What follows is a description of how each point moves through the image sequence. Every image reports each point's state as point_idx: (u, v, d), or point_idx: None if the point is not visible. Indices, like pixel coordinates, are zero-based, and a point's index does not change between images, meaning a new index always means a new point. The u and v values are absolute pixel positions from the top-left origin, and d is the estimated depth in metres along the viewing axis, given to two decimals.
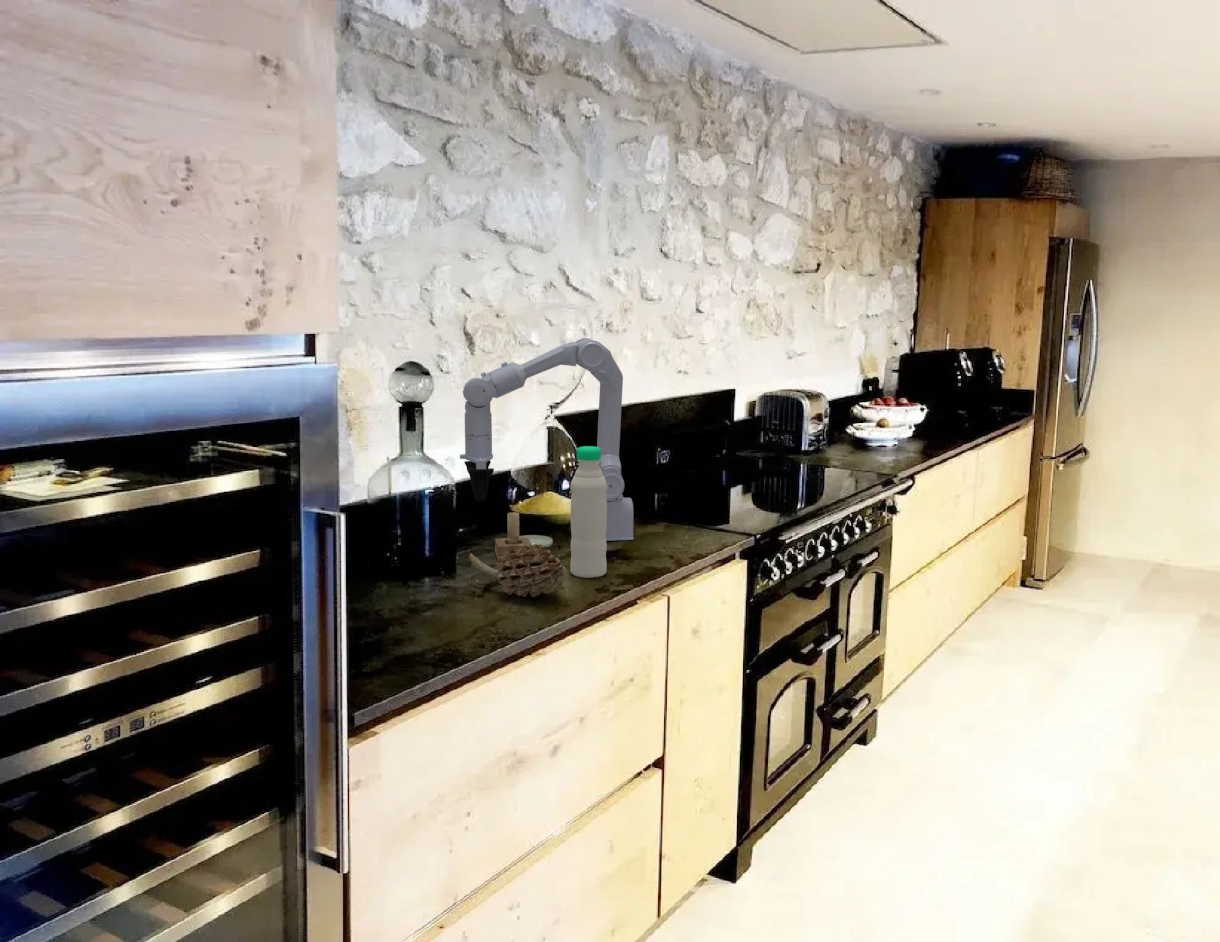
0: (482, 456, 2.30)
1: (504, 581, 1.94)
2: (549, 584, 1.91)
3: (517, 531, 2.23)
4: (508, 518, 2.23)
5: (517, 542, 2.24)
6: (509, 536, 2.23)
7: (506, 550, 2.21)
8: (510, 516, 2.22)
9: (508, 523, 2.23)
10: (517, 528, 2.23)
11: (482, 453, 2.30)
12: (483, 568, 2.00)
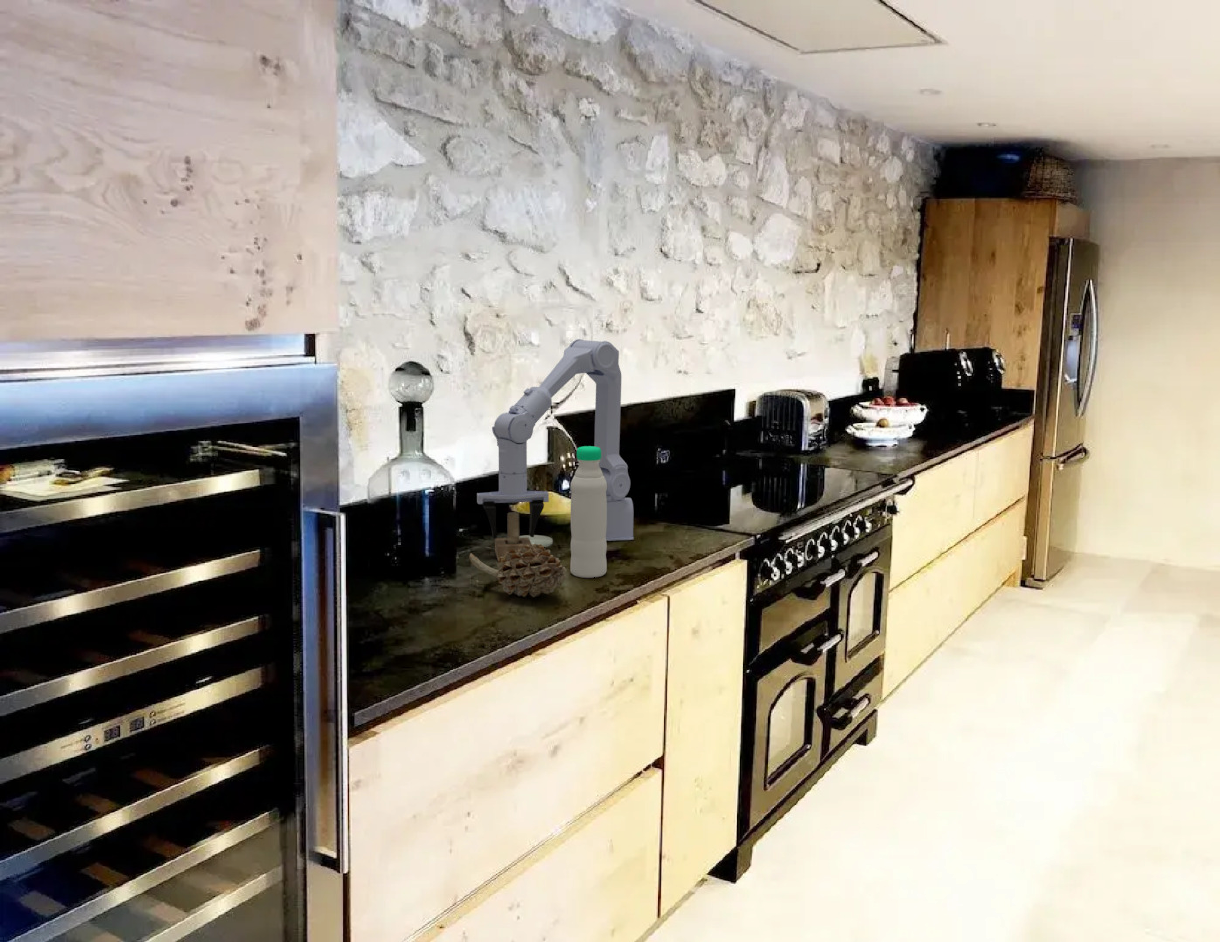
0: (499, 493, 2.22)
1: (504, 581, 1.94)
2: (549, 584, 1.91)
3: (517, 531, 2.23)
4: (508, 518, 2.23)
5: (517, 542, 2.24)
6: (509, 536, 2.23)
7: (506, 550, 2.21)
8: (510, 516, 2.22)
9: (508, 523, 2.23)
10: (517, 528, 2.23)
11: (499, 491, 2.21)
12: (483, 568, 2.00)
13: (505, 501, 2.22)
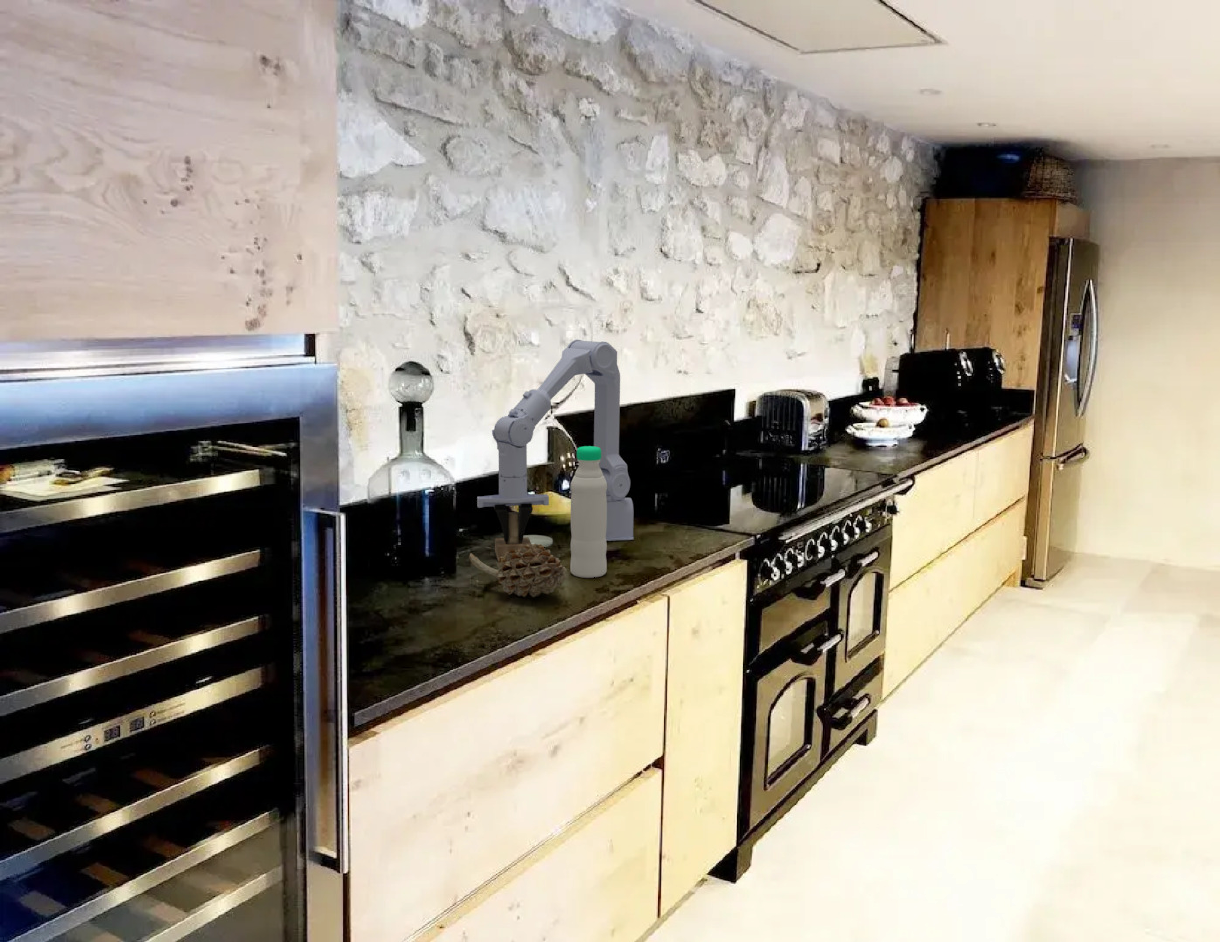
0: (499, 497, 2.22)
1: (504, 581, 1.94)
2: (549, 584, 1.91)
3: (517, 531, 2.23)
4: (508, 518, 2.23)
5: (517, 542, 2.24)
6: (509, 536, 2.23)
7: (506, 550, 2.21)
8: (510, 516, 2.22)
9: (508, 523, 2.23)
10: (517, 528, 2.23)
11: (499, 494, 2.22)
12: (483, 568, 2.00)
13: (505, 504, 2.23)
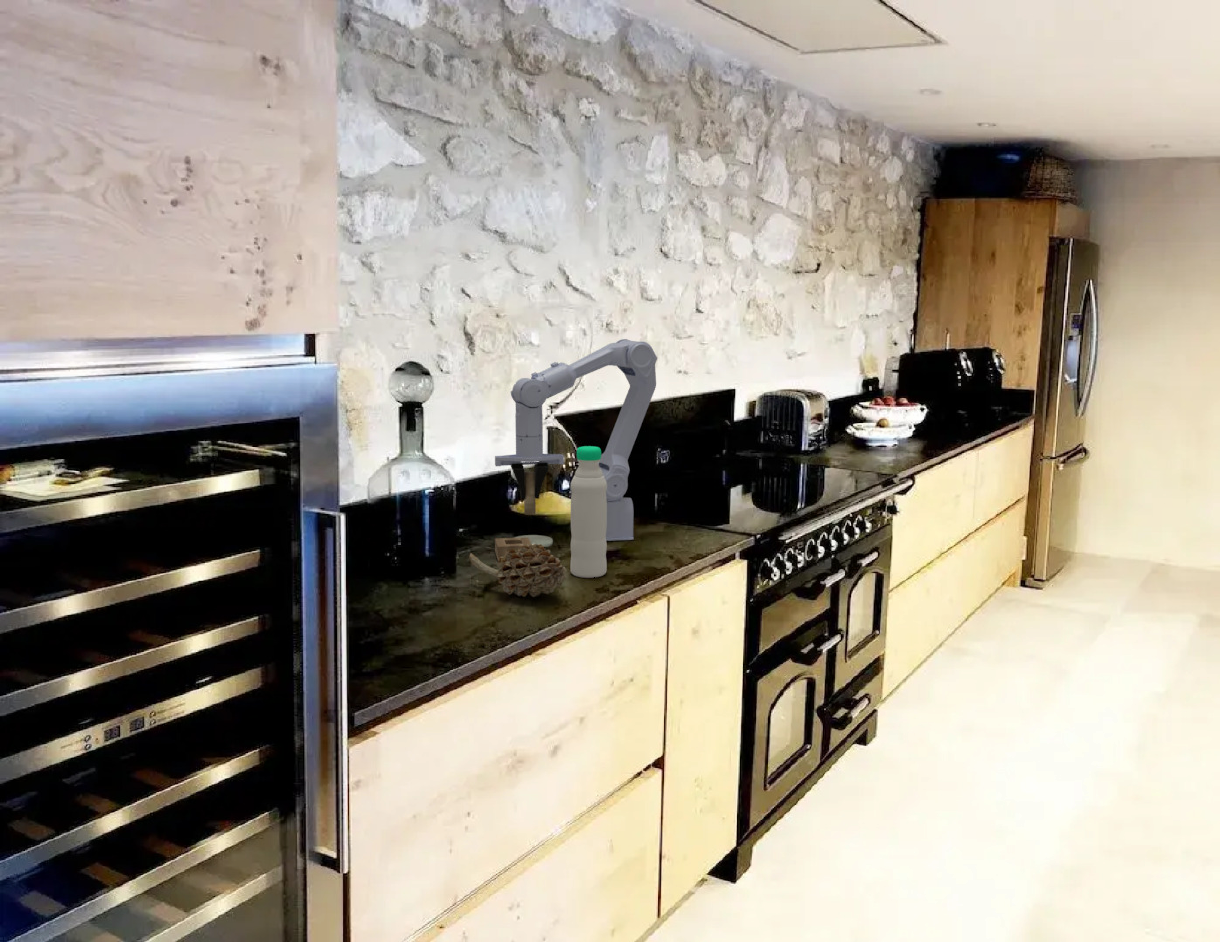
0: (516, 456, 2.30)
1: (504, 581, 1.94)
2: (549, 584, 1.91)
3: (533, 489, 2.31)
4: (524, 477, 2.31)
5: (533, 500, 2.32)
6: (525, 494, 2.31)
7: (506, 550, 2.21)
8: (526, 475, 2.31)
9: (524, 481, 2.31)
10: (533, 486, 2.31)
11: (516, 453, 2.30)
12: (483, 568, 2.00)
13: (522, 463, 2.31)
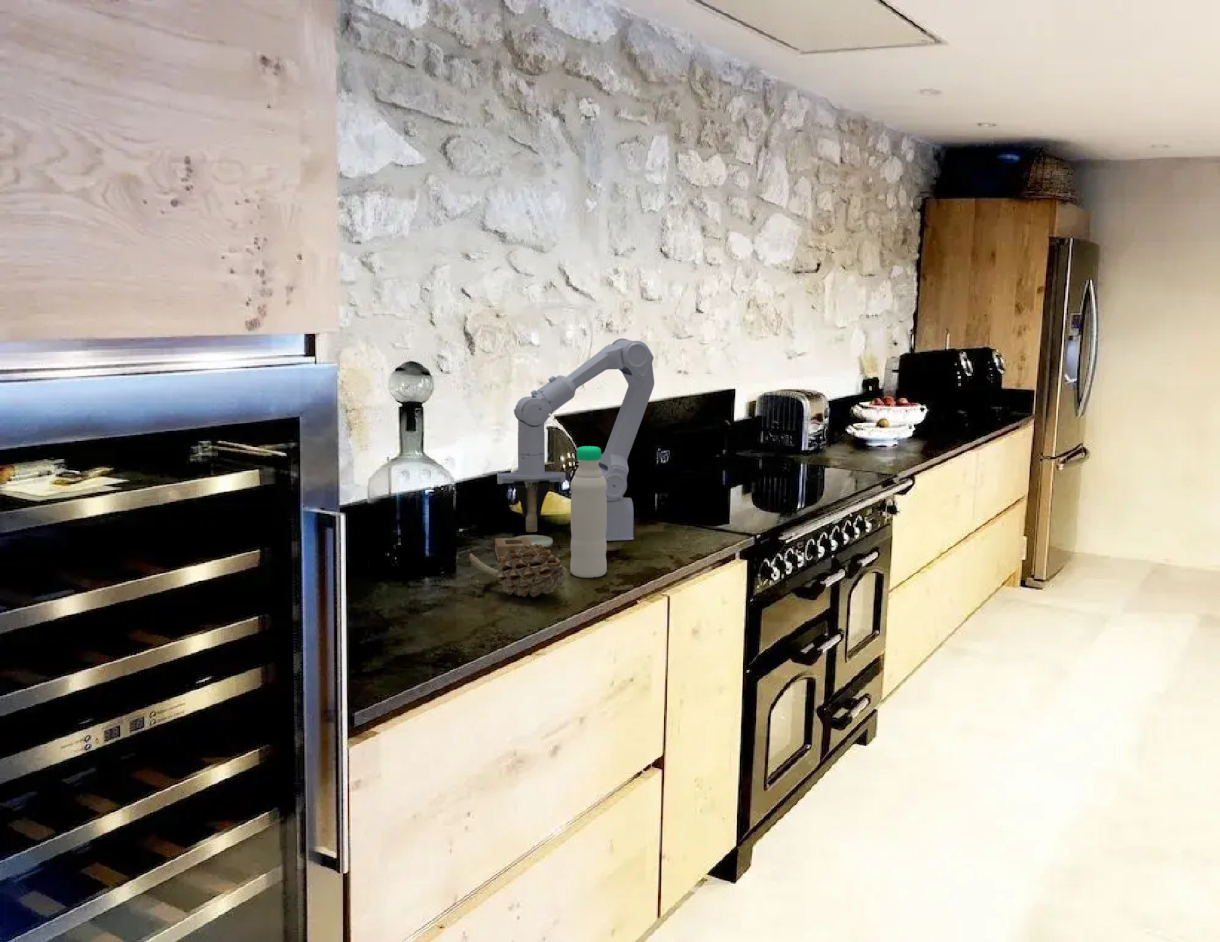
0: (518, 474, 2.32)
1: (504, 581, 1.94)
2: (549, 584, 1.91)
3: (535, 507, 2.33)
4: (526, 494, 2.33)
5: (535, 517, 2.34)
6: (527, 511, 2.33)
7: (506, 550, 2.21)
8: (528, 492, 2.33)
9: (526, 499, 2.33)
10: (535, 504, 2.33)
11: (518, 471, 2.32)
12: (483, 568, 2.00)
13: None
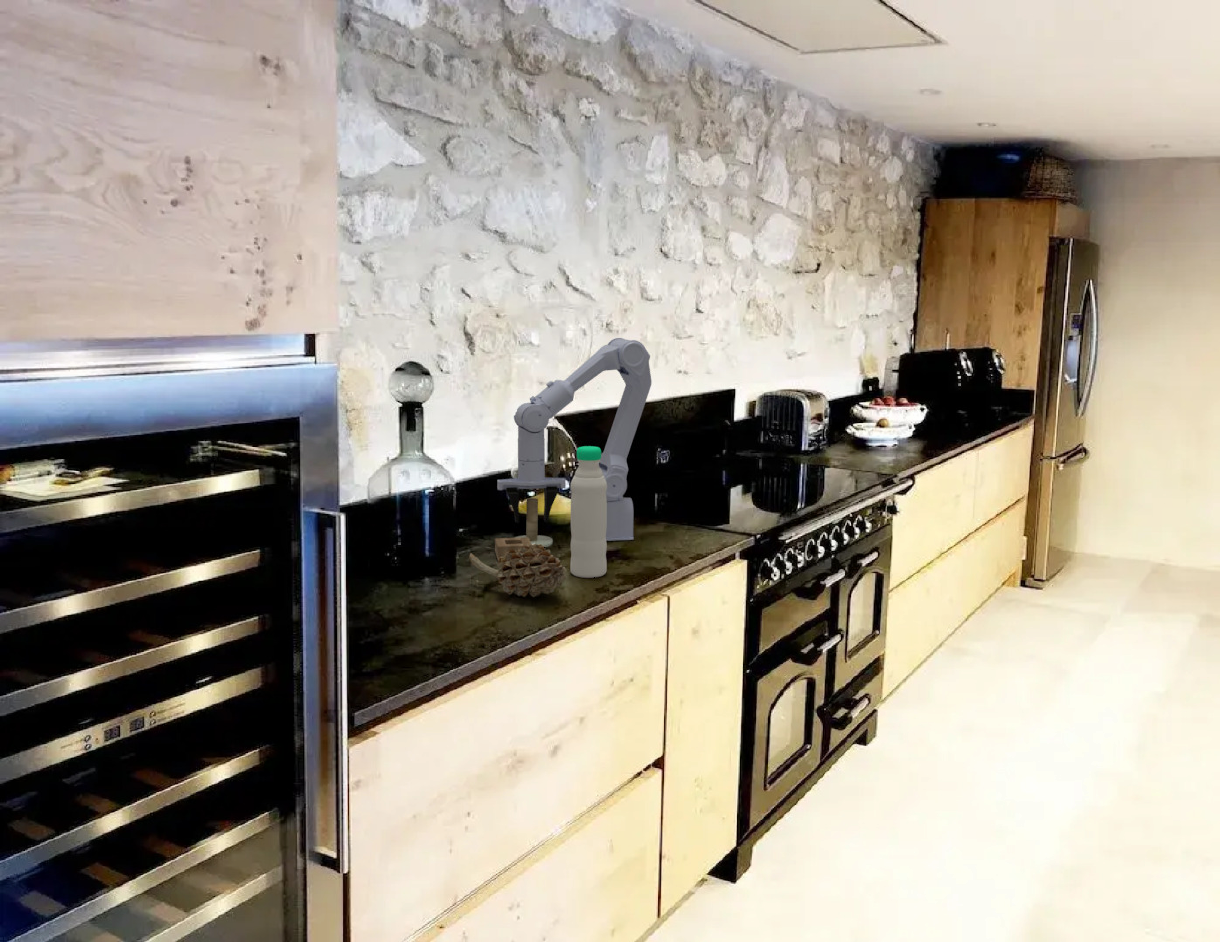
0: (518, 480, 2.32)
1: (504, 581, 1.94)
2: (549, 584, 1.91)
3: (535, 516, 2.34)
4: (527, 503, 2.33)
5: (535, 527, 2.34)
6: (527, 521, 2.34)
7: (506, 550, 2.21)
8: (529, 502, 2.33)
9: (527, 508, 2.34)
10: (535, 513, 2.34)
11: (518, 477, 2.32)
12: (483, 568, 2.00)
13: (524, 487, 2.33)
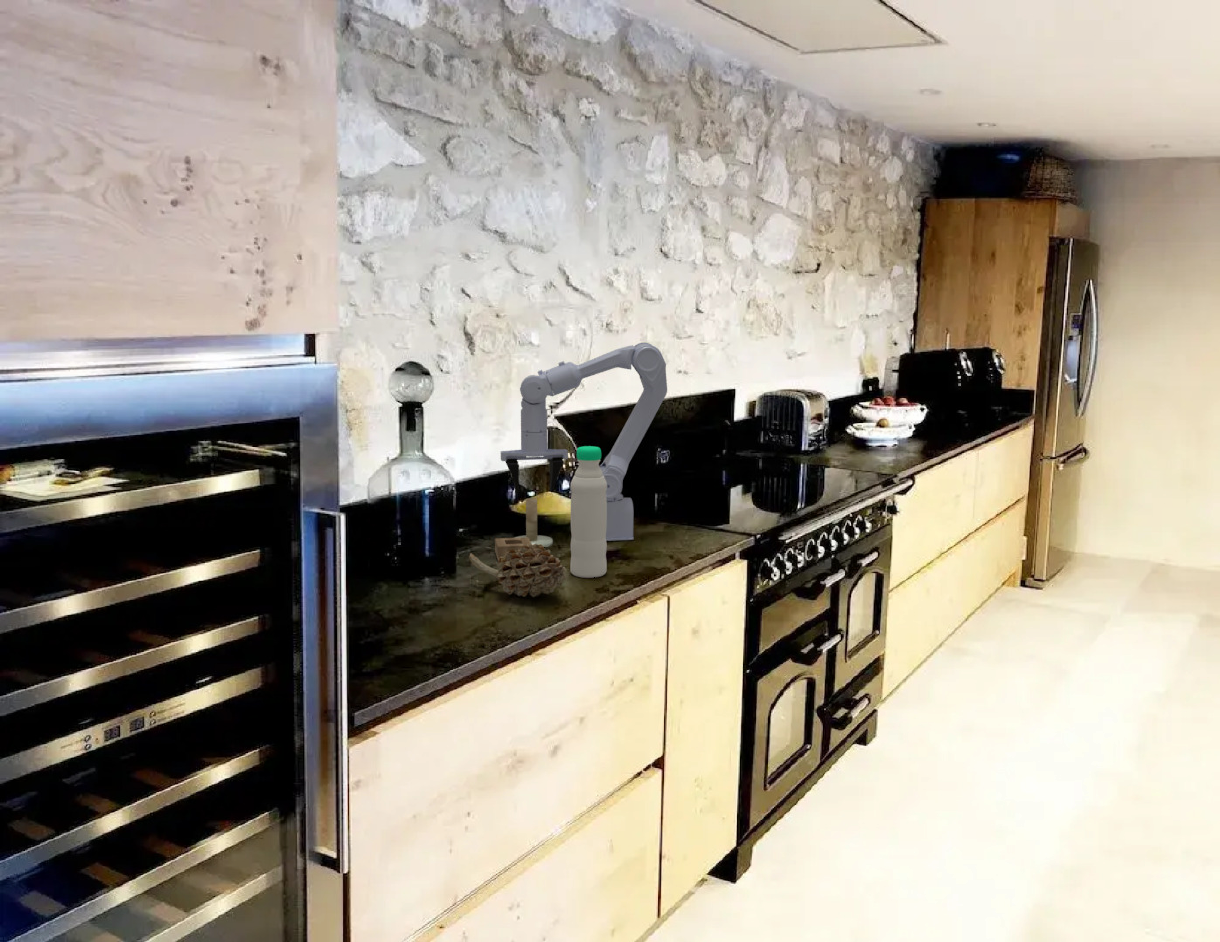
0: (521, 451, 2.36)
1: (504, 581, 1.94)
2: (549, 584, 1.91)
3: (535, 516, 2.34)
4: (526, 503, 2.33)
5: (535, 526, 2.34)
6: (527, 521, 2.34)
7: (506, 550, 2.21)
8: (528, 501, 2.33)
9: (526, 508, 2.34)
10: (535, 513, 2.34)
11: (522, 448, 2.36)
12: (483, 568, 2.00)
13: (527, 458, 2.37)
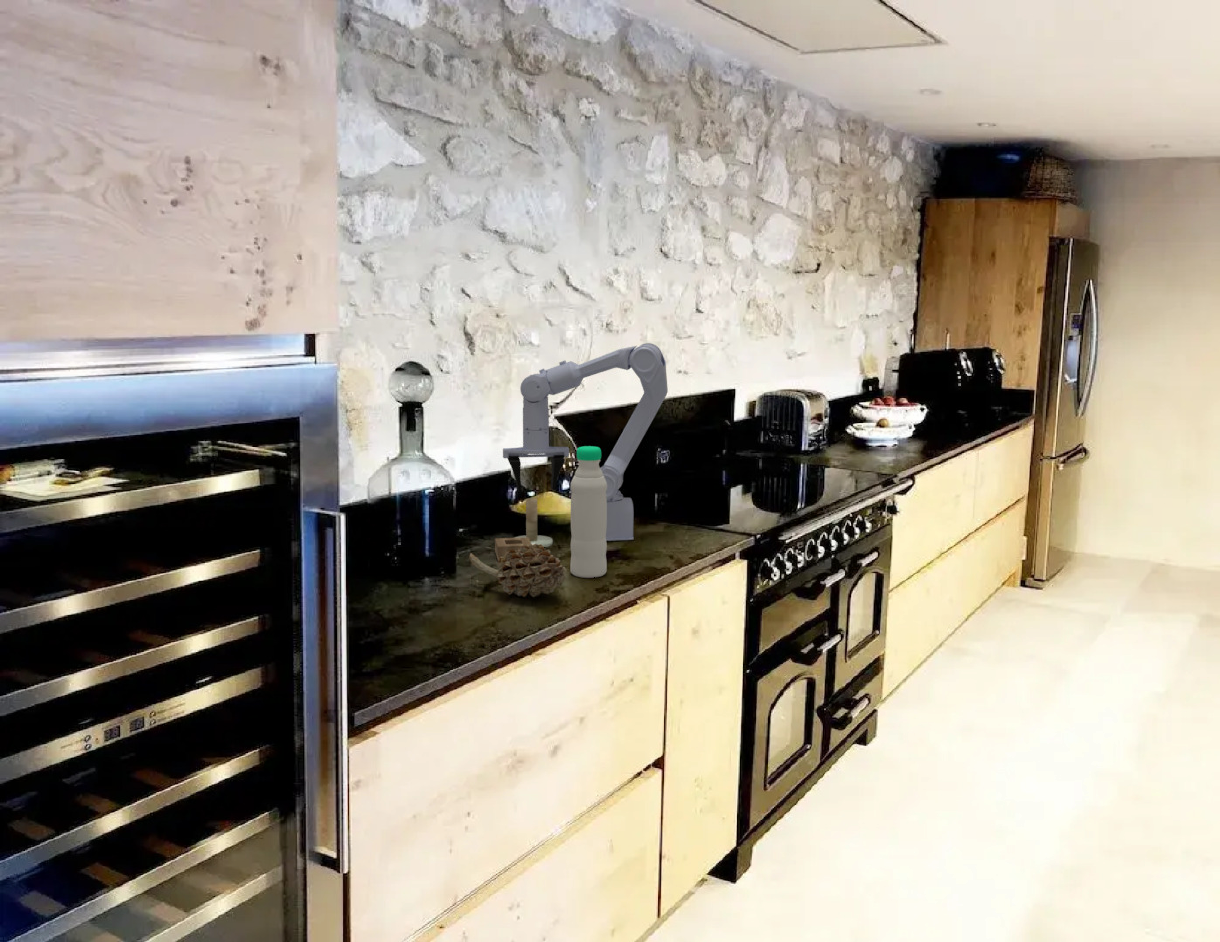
0: (523, 448, 2.39)
1: (504, 581, 1.94)
2: (549, 584, 1.91)
3: (535, 516, 2.34)
4: (526, 503, 2.33)
5: (535, 526, 2.34)
6: (527, 521, 2.34)
7: (506, 550, 2.21)
8: (528, 501, 2.33)
9: (526, 508, 2.34)
10: (535, 513, 2.34)
11: (523, 446, 2.39)
12: (483, 568, 2.00)
13: (529, 456, 2.40)
